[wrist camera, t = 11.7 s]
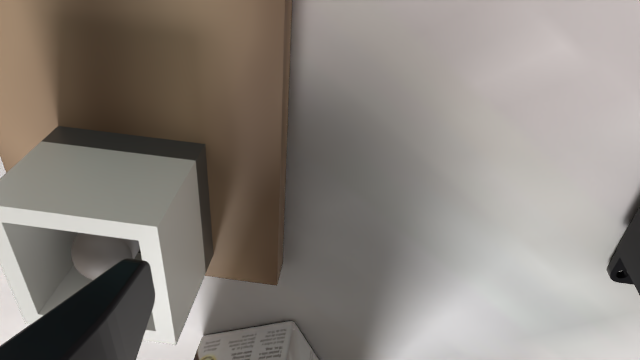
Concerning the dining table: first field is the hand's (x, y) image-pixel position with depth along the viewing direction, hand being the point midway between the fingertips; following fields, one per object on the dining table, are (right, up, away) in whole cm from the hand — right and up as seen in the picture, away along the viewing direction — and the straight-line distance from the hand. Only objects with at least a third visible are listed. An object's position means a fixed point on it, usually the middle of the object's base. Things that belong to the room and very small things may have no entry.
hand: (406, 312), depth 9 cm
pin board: (-9, +8, +11) cm, 16 cm away
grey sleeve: (-9, +2, +13) cm, 16 cm away
